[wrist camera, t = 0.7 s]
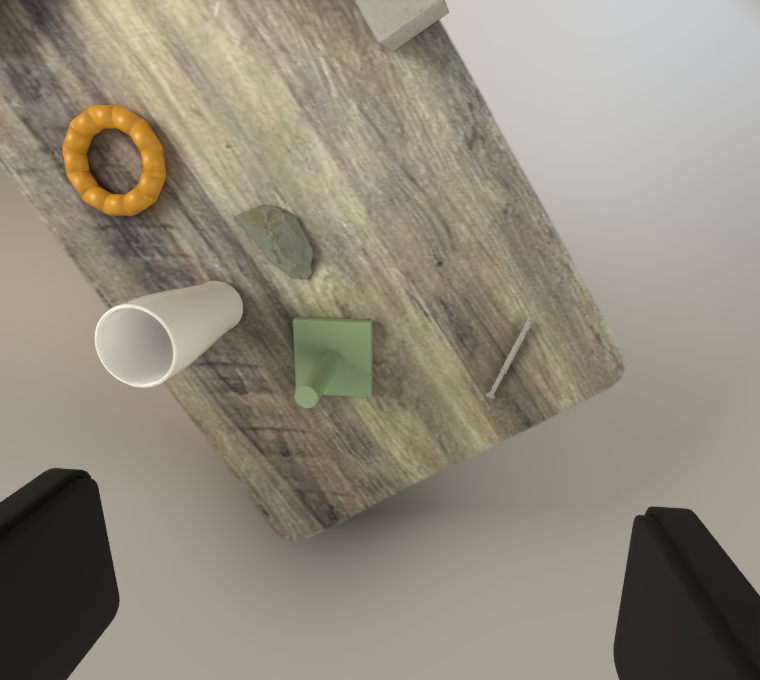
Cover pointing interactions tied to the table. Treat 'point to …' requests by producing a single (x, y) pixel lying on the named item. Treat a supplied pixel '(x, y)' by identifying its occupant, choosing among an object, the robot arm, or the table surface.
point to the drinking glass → (165, 331)
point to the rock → (279, 239)
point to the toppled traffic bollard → (400, 18)
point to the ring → (79, 166)
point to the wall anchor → (510, 358)
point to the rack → (332, 358)
